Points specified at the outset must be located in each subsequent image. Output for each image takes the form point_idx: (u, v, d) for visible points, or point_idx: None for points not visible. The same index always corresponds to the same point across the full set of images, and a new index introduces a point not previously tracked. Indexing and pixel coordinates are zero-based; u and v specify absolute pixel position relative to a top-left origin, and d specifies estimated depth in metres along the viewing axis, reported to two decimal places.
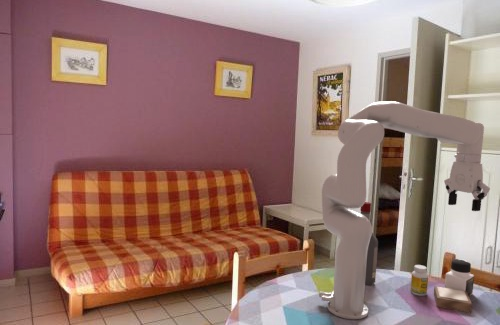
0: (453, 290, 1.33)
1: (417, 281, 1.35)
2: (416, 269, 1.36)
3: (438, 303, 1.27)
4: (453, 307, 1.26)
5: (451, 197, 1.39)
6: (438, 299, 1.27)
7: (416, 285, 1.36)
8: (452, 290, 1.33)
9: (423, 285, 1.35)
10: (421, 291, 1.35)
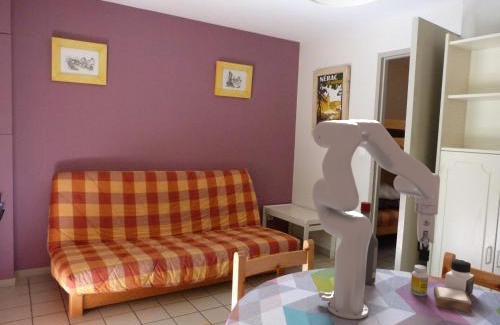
0: (453, 290, 1.33)
1: (417, 281, 1.35)
2: (416, 269, 1.36)
3: (438, 303, 1.27)
4: (453, 307, 1.26)
5: None
6: (438, 299, 1.27)
7: (416, 285, 1.36)
8: (452, 290, 1.33)
9: (423, 285, 1.35)
10: (421, 291, 1.35)
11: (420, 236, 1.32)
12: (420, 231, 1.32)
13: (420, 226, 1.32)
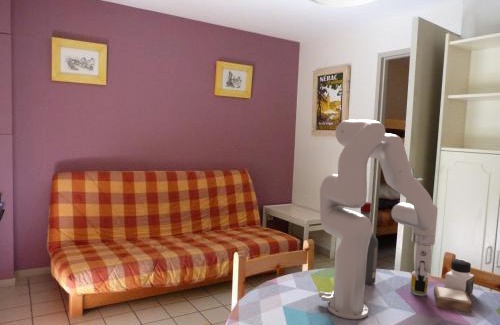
0: (453, 290, 1.33)
1: None
2: None
3: (438, 303, 1.27)
4: (453, 307, 1.26)
5: None
6: (438, 299, 1.27)
7: None
8: (452, 290, 1.33)
9: None
10: None
11: (417, 266, 1.33)
12: (417, 261, 1.33)
13: (417, 256, 1.33)
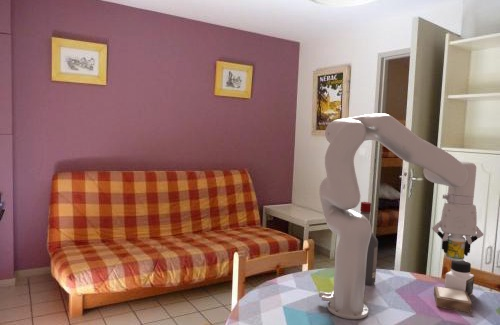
0: (453, 290, 1.33)
1: None
2: None
3: (438, 303, 1.27)
4: (453, 307, 1.26)
5: None
6: (438, 299, 1.27)
7: None
8: (452, 290, 1.33)
9: (448, 246, 1.29)
10: (446, 253, 1.29)
11: None
12: None
13: None
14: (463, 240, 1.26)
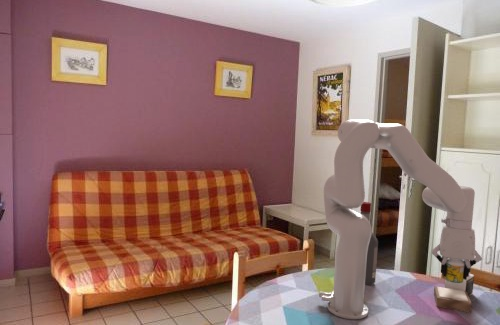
0: (453, 290, 1.33)
1: None
2: None
3: (438, 303, 1.27)
4: (453, 307, 1.26)
5: (446, 268, 1.29)
6: (438, 299, 1.27)
7: None
8: (452, 290, 1.33)
9: (447, 270, 1.29)
10: (445, 276, 1.30)
11: None
12: None
13: None
14: (462, 264, 1.27)
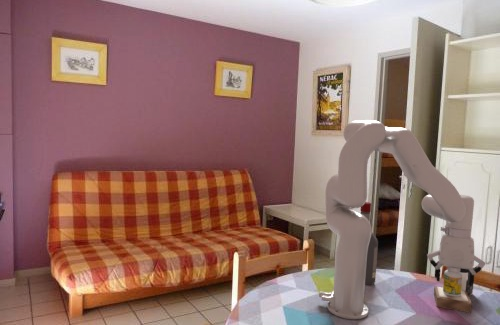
0: None
1: None
2: None
3: (438, 303, 1.27)
4: (453, 307, 1.26)
5: None
6: (438, 299, 1.27)
7: None
8: None
9: (445, 282, 1.30)
10: (443, 288, 1.30)
11: None
12: (439, 249, 1.32)
13: None
14: (460, 276, 1.27)
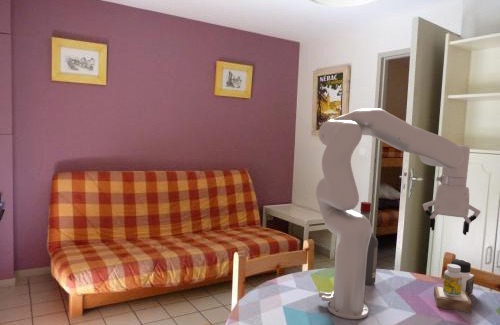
0: None
1: None
2: None
3: (438, 303, 1.27)
4: (453, 307, 1.26)
5: (434, 222, 1.31)
6: (438, 299, 1.27)
7: None
8: None
9: (445, 282, 1.30)
10: (443, 288, 1.30)
11: None
12: None
13: None
14: (460, 276, 1.27)
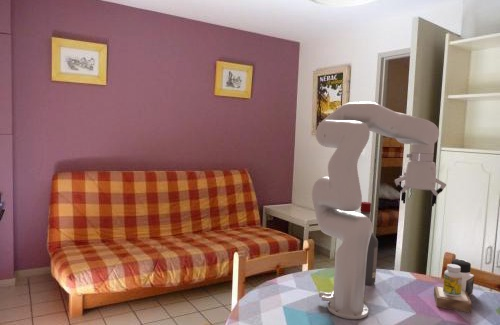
0: None
1: None
2: None
3: (438, 303, 1.27)
4: (453, 307, 1.26)
5: (405, 196, 1.43)
6: (438, 299, 1.27)
7: None
8: None
9: (445, 282, 1.30)
10: (443, 288, 1.30)
11: None
12: None
13: None
14: (460, 276, 1.27)
